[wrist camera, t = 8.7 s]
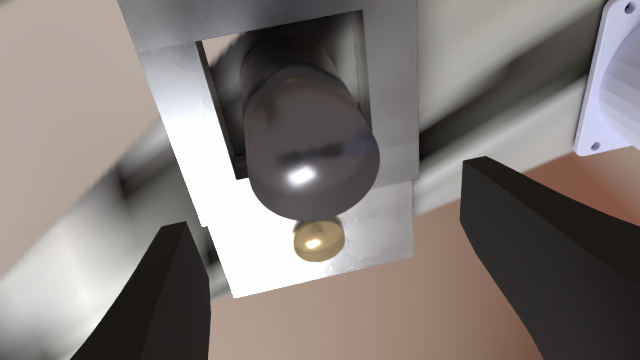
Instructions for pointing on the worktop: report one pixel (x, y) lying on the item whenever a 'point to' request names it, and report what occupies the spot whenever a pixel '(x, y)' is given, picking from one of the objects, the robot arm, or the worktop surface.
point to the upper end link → (201, 108)
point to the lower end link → (314, 231)
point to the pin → (303, 131)
